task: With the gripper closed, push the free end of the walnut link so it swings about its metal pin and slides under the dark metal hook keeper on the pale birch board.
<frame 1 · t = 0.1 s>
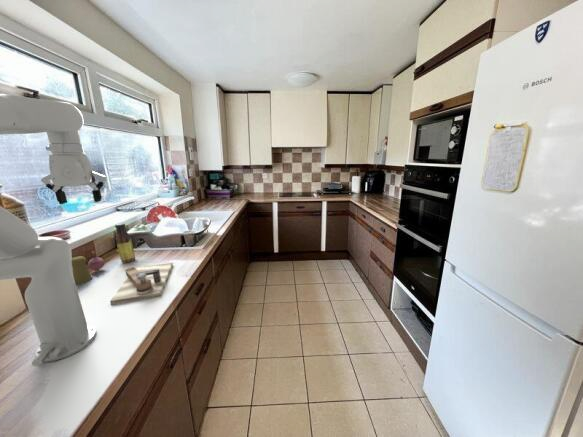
hand: (81, 202, 79), 37 cm above the worktop, tool pointing down, fingers open, 9 cm apart
link: (136, 274, 95), point 5 cm above the worktop, hinge at 30.0°
vegetable: (98, 271, 111), on the worktop
sauce bottle: (128, 261, 121), on the worktop
pivot board: (146, 282, 99), on the worktop
olive green tapered block: (83, 281, 102), on the worktop
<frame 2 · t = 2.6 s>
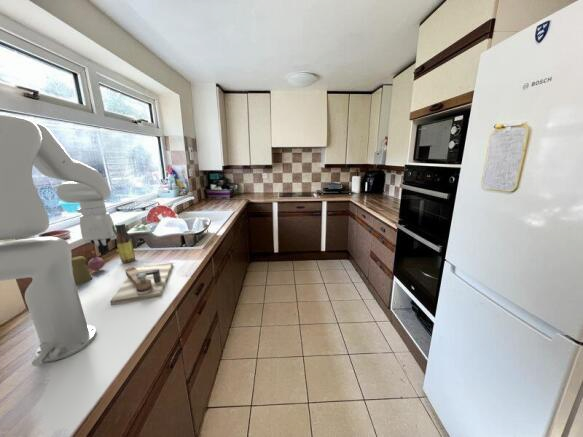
hand: (104, 253, 98), 13 cm above the worktop, tool pointing down, fingers closed
nothing on the worktop moved.
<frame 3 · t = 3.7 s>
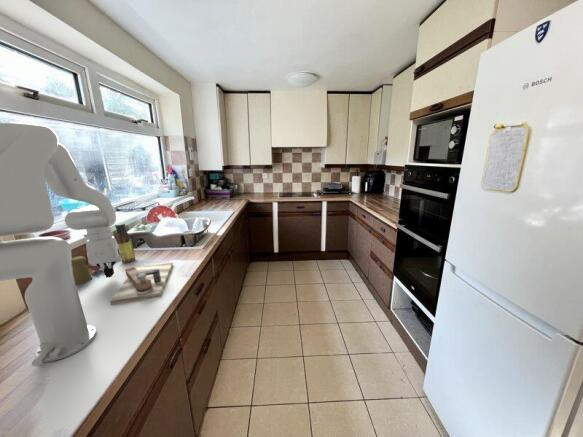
hand: (109, 276, 100), 3 cm above the worktop, tool pointing down, fingers closed
nothing on the worktop moved.
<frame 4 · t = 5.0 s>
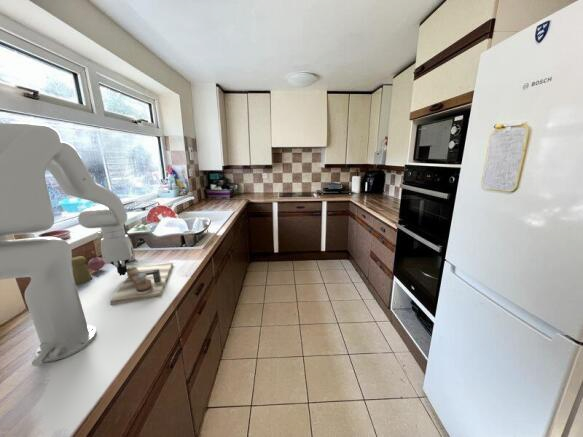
hand: (123, 273, 102), 3 cm above the worktop, tool pointing down, fingers closed
link: (136, 274, 95), point 5 cm above the worktop, hinge at 28.7°, touching gripper
everything else where it was.
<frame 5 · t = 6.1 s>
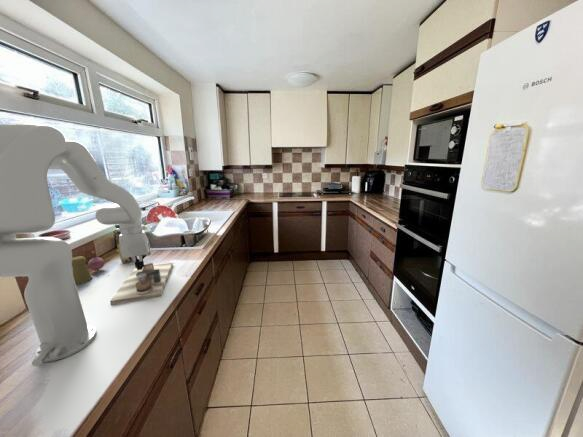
hand: (140, 268, 104), 3 cm above the worktop, tool pointing down, fingers closed
link: (145, 272, 97), point 5 cm above the worktop, hinge at 7.3°, touching gripper
everything else where it was.
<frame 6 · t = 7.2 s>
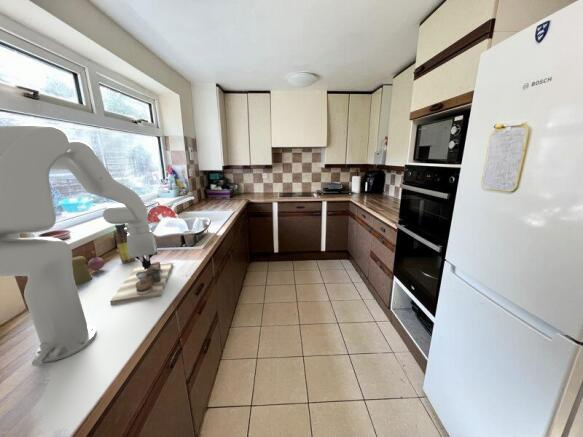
hand: (147, 268, 105), 3 cm above the worktop, tool pointing down, fingers closed
link: (149, 271, 97), point 5 cm above the worktop, hinge at -1.7°, touching gripper
everything else where it was.
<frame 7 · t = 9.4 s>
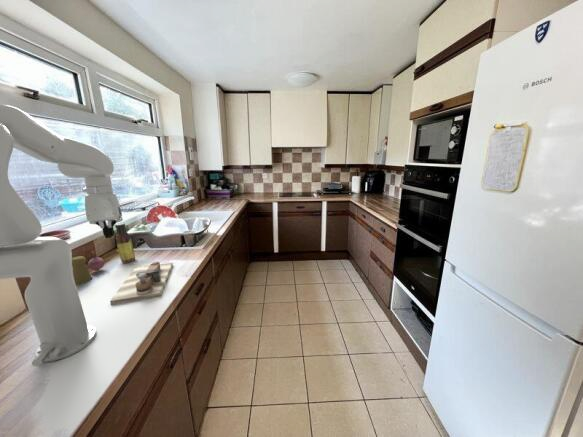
hand: (109, 237, 92), 21 cm above the worktop, tool pointing down, fingers closed
link: (149, 272, 97), point 5 cm above the worktop, hinge at -1.2°
everything else where it was.
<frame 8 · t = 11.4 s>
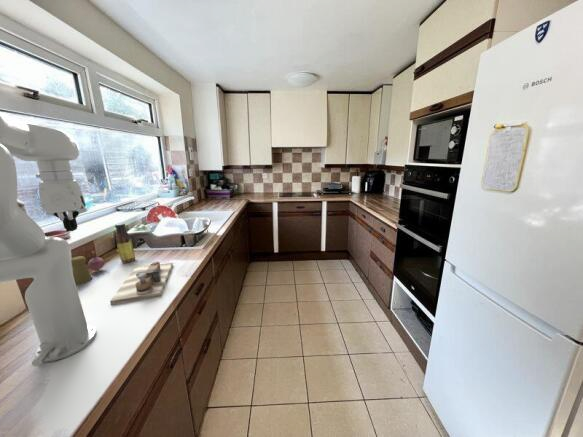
hand: (71, 230, 81), 27 cm above the worktop, tool pointing down, fingers closed
nothing on the worktop moved.
at the end: link at -1° (first picture: +30°); the gripper is holding nothing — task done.
